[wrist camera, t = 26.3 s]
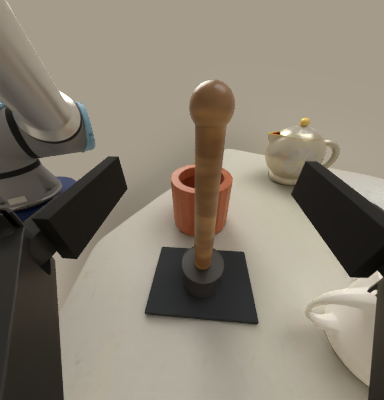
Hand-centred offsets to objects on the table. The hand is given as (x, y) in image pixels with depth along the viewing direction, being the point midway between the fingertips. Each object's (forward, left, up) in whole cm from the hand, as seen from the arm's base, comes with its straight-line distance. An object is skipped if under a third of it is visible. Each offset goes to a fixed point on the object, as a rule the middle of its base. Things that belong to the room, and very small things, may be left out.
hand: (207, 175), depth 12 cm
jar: (-11, +10, -18) cm, 24 cm away
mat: (-1, +1, -18) cm, 18 cm away
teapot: (-6, +41, -18) cm, 46 cm away
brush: (-1, +1, -18) cm, 18 cm away
